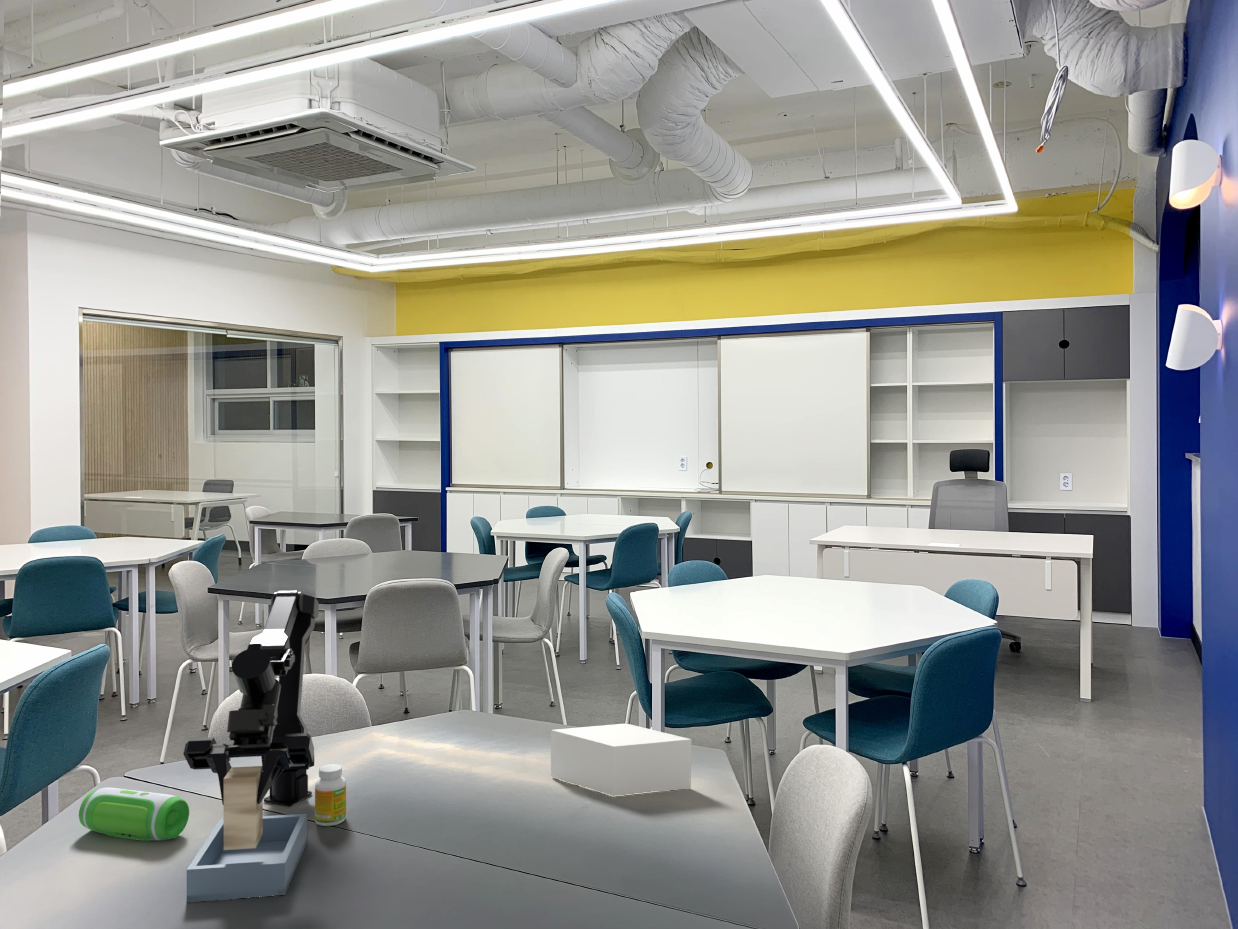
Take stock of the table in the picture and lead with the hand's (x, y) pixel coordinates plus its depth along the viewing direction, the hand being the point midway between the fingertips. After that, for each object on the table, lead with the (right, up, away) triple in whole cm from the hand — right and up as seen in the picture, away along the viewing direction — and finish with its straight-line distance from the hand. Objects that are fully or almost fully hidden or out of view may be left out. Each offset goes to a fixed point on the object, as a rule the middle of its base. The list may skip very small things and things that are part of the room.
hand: (241, 803), depth 134 cm
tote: (-1, -13, +7) cm, 15 cm away
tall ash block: (0, -7, +1) cm, 7 cm away
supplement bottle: (+5, -13, +25) cm, 29 cm away
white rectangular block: (+58, -13, +44) cm, 74 cm away
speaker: (-27, -13, +19) cm, 36 cm away
